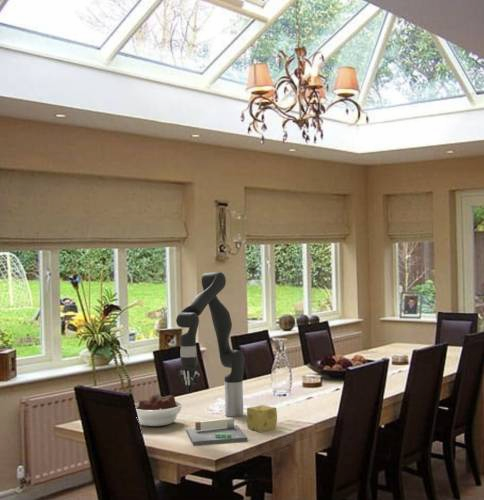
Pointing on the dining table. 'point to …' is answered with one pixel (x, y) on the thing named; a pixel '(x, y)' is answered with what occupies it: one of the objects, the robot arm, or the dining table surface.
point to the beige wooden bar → (214, 424)
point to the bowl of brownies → (158, 410)
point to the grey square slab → (216, 435)
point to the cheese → (261, 418)
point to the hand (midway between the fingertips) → (189, 392)
